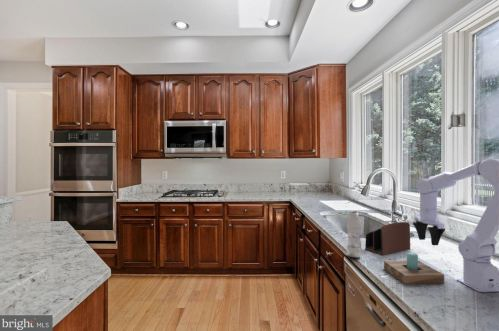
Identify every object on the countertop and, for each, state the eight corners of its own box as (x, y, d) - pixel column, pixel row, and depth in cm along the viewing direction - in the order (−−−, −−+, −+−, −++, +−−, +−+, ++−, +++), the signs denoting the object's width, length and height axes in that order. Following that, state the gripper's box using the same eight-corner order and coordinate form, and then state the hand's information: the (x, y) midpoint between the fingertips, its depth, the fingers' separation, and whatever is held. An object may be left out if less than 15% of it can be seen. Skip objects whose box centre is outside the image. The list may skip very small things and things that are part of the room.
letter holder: (410, 249, 134) (410, 220, 134) (382, 256, 125) (382, 225, 125) (392, 244, 143) (392, 217, 143) (364, 249, 134) (364, 221, 134)
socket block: (444, 283, 97) (444, 274, 97) (405, 284, 96) (405, 275, 96) (417, 267, 111) (417, 260, 111) (383, 268, 110) (383, 261, 110)
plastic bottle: (358, 254, 127) (357, 211, 127) (364, 259, 120) (364, 213, 120) (344, 254, 127) (344, 211, 127) (350, 259, 120) (350, 214, 120)
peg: (420, 277, 102) (420, 255, 102) (411, 277, 101) (411, 256, 101) (413, 273, 105) (413, 252, 105) (404, 273, 105) (404, 252, 105)
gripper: (407, 206, 119) (407, 237, 119) (431, 212, 104) (431, 247, 104) (423, 205, 119) (423, 237, 119) (449, 211, 104) (449, 247, 105)
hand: (428, 242), depth 112 cm, fingers open, 7 cm apart
